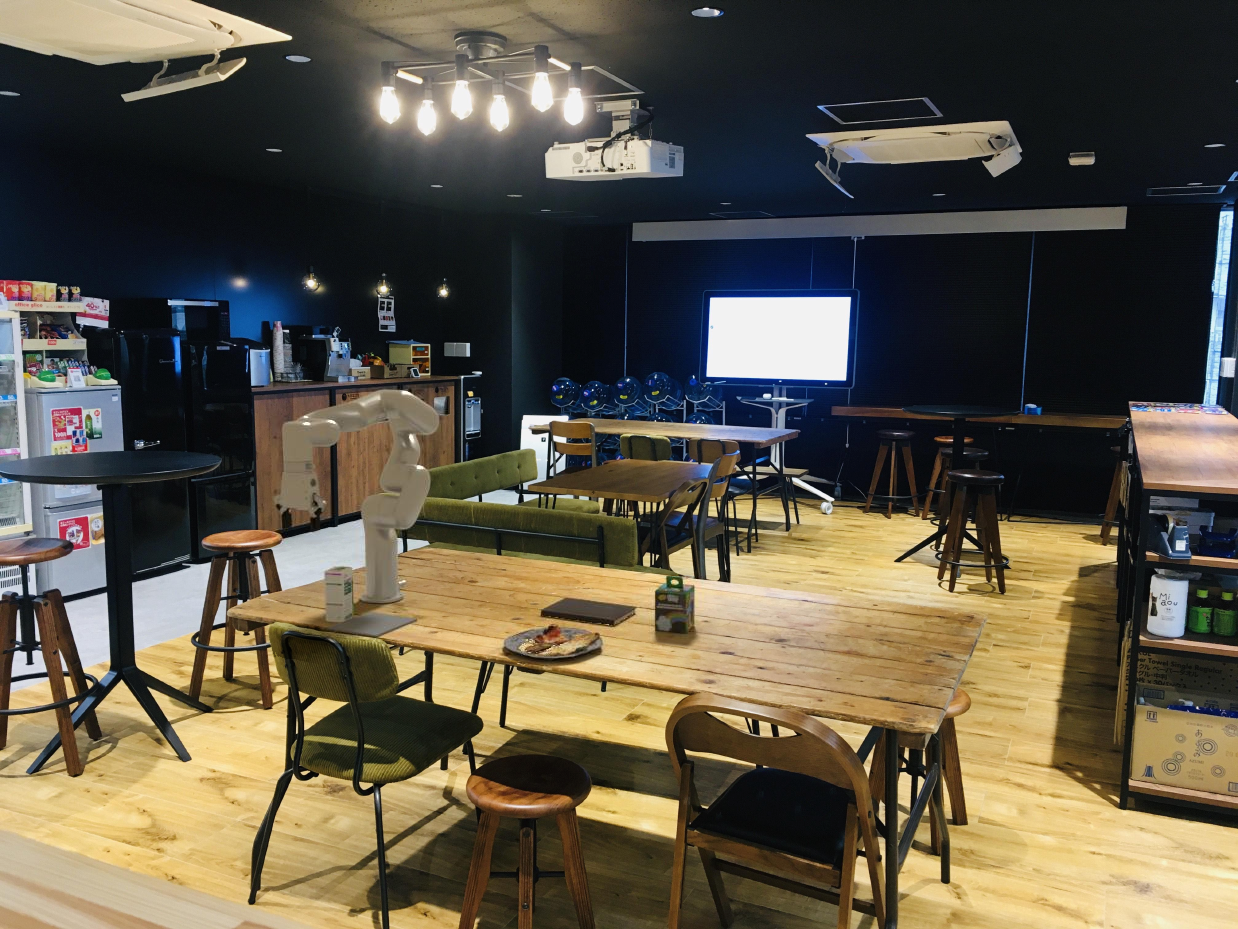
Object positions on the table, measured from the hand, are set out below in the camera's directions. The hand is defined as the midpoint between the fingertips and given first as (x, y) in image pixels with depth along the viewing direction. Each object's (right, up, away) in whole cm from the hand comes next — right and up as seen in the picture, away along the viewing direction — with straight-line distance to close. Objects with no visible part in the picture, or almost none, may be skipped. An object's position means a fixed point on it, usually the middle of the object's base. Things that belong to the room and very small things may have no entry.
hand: (301, 529), depth 264 cm
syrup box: (+9, -26, +6) cm, 28 cm away
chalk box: (+102, -28, +3) cm, 105 cm away
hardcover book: (+78, -26, +16) cm, 84 cm away
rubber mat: (+19, -26, +1) cm, 32 cm away
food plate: (+70, -30, -17) cm, 78 cm away
